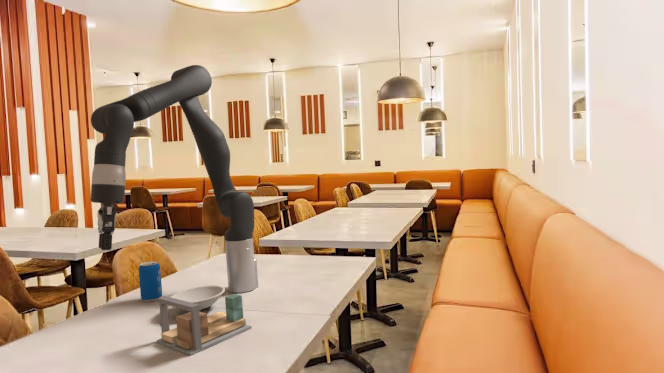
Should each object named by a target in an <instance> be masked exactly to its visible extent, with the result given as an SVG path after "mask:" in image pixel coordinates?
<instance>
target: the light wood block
mask: <svg viewBox="0 0 664 373" xmlns="http://www.w3.org/2000/svg"><path fill="white" fill-rule="evenodd" d="M207 318H208V326H209V325H212V324H214V323H217V322H219V321H222V320H224V319H227V318H226V311H225V312H224V311H221V310H220V311H218V312H214V313H213V314H209V315H207Z"/></svg>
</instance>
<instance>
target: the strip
mask: <svg viewBox="0 0 664 373" xmlns="http://www.w3.org/2000/svg"><path fill="white" fill-rule="evenodd" d="M224 301H225V302H224V304H225V313H226V318H227V319H224V320H222V321H219V322H217V323H214V324H212V325H209V326H208V332H209V335H206V336H204V337H202V338H201V343H204V342H207V341H209V340H211V339H213V338H216V337H218V336H220V335H223V334H225V333H227V332H230V331H232V330H234V329H237V328H239V327H241V326H244V325H247V323H246V322H247V321H246V318H244V308H243V296H242V295H241V294H238V293H233V294H230V295H227V296H224ZM176 342H177V345H178V346H181V347H183V348H186V349H190V348H193V341H192V342H188V341H185V340H183V339H180V338H177V339H176Z"/></svg>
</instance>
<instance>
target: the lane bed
mask: <svg viewBox="0 0 664 373" xmlns="http://www.w3.org/2000/svg"><path fill="white" fill-rule="evenodd" d="M157 301H158V303H159V314H160V326H161V333H164V332H167V331H169V330H170V319H169V307H168V306H170V307H174V308H177V309H180V308H181V309H180V310H182V309H184V310H183V311H186V310H188V312H191V322H192V335H193V348H190V349H186V348H183V347H181V346H178V345H177V342H176V339H175V340H173V342H174V343H170V342H167V341H164V340H162V337H161V338H159V339H156V344H160V345H162V346H164V347H168V348H170V349H173V350H175V351H177V352H180V353H183V354H186V355H188V356H194V355H195V354H198V353H200V352H202V351H205V350H206V349H209V348H210V347H213V346H215V345H217V344H219V343H222V342H224V341H227V340H228V339H231V338H233V337H235V336H237V335H240V334H242V333H244V332H246V331H249V330H251V329H252V325H249V324H246V325H244V326H241V327H239V328H237V329H234V330H232V331H230V332H227V333H225V334H223V335H220V336H218V337H216V338H213V339H211V340H209V341H207V342H204V343H201V330H200V317H199V312H200V311H199V309H200V305H199V304H195V303H191V302H187V301H183V300H179V299H175V298H171V296H167V295H164V296H162V297H160V298H158V300H157Z"/></svg>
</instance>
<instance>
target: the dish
mask: <svg viewBox="0 0 664 373" xmlns="http://www.w3.org/2000/svg"><path fill="white" fill-rule="evenodd" d="M225 291H226V288H225V286H223V285H214V284H213V285H211V284H210V285H200V286H196V287H192V288H191V287H190V288H187V289H184V290H180V291H179V292H177V293H175V294H172V295H170V297H171V298H175V299H179V300H183V301H187V302H191V303H195V304H199V305H200V309H199V312H202V310H203V309H206V308H208V307H210V306H213V304H215V303H216V302H217V301H218V300H219V299H220V298H221V296H222V294H224V293H225ZM179 309H180V310H182V311H188V310H184V309H181V308H179ZM188 312H189V311H188Z"/></svg>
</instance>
